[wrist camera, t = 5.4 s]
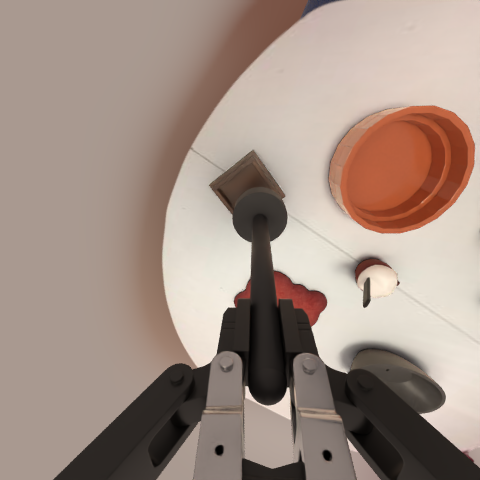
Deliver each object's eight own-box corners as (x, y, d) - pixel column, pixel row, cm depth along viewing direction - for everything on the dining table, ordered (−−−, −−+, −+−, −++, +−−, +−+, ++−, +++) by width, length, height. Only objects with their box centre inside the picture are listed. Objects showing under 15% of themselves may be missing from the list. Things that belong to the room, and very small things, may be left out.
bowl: (362, 328, 53) (375, 352, 47) (441, 365, 56) (462, 392, 50) (328, 362, 58) (336, 388, 52) (402, 394, 61) (417, 422, 55)
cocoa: (396, 269, 46) (439, 313, 35) (370, 290, 49) (403, 338, 38) (360, 241, 44) (395, 279, 33) (335, 265, 47) (359, 307, 36)
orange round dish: (308, 157, 39) (318, 163, 33) (414, 81, 34) (448, 72, 28) (357, 235, 44) (373, 253, 38) (455, 179, 39) (491, 189, 33)
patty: (334, 299, 50) (337, 305, 48) (294, 341, 55) (296, 348, 54) (260, 259, 47) (261, 265, 45) (226, 308, 52) (225, 315, 51)
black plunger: (223, 206, 29) (157, 385, 9) (266, 176, 27) (294, 316, 8) (253, 243, 31) (250, 458, 11) (294, 217, 29) (378, 417, 9)
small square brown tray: (209, 184, 41) (206, 188, 39) (253, 149, 39) (253, 151, 36) (242, 224, 44) (241, 230, 42) (285, 195, 42) (287, 199, 39)
